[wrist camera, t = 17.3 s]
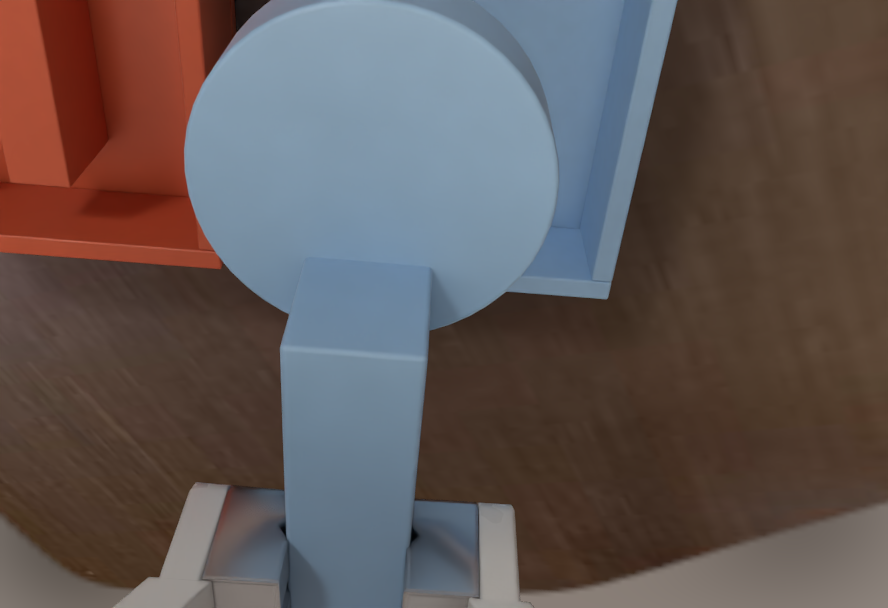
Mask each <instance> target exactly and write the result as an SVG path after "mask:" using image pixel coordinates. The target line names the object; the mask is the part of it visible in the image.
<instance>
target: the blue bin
mask: <svg viewBox="0 0 888 608" xmlns="http://www.w3.org/2000/svg"><path fill="white" fill-rule="evenodd" d="M472 1H474V2H475V3H477V4H479V5H480V6H482V7H483V8H484V9H485V10H486V11H488V12H489V13H490V14H491V15H492V16H494V17H495V18H496V19H497V20H498V21H500V22H501V23H502V25H503V26H504V27H505V28H506V29H507V30H508V31H509V32H510V33H511V34H512V36H513V37H514V38H515V39H516V40H517V41H518V43H519V44H520V46H521V47H522V49H523V50H524V52H525V53H526V55H527V56H528V57H529V59H530V61H531V63H532V65H533V67H534V69H535V71H536V73H537V75H538V77H539V79H540V82H541V85H542V88H543V90H544V93H545V96H546V99H547V104H548V108H549V113H550V118H551V123H552V128H553V133H554V138H555V143H556V149H557V154H558V159H559V189H558V198H557V205H556V209H555V213H554V217H553V220H552V224H551V227H550V229H549V231H548V234H547V236H546V238H545V241H544V243H543V245H542V247H541V248H540V250H539V252H538V253H537V255H536V257H535V258H534V260H533V262H532V263H531V264H530V266H529V267H528V268H527V269H526V271H525V272H524V273H523V274H522V276H521V277H520V278H519V279H518V280H517V281H516V282H515V283H514V284H513V285H512V286H511V287H510V288H509V289H508V290H507V291H506V292H519V293H532V294H545V295H557V296H570V297H583V298H596V299H607V298H608V296H609V292H610V288H611V281H612V279H613V275H614V271H615V266H616V262H617V258H618V253H619V249H620V245H621V241H622V236H623V232H624V228H625V223H626V219H627V215H628V211H629V206H630V202H631V198H632V193H633V189H634V185H635V181H636V176H637V172H638V168H639V164H640V159H641V155H642V151H643V146H644V142H645V138H646V134H647V129H648V125H649V121H650V116H651V112H652V108H653V104H654V99H655V95H656V91H657V86H658V82H659V78H660V74H661V69H662V65H663V61H664V56H665V52H666V48H667V44H668V39H669V35H670V31H671V27H672V22H673V18H674V14H675V9H676V5H677V1H678V0H472Z"/></svg>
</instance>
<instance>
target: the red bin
mask: <svg viewBox="0 0 888 608" xmlns="http://www.w3.org/2000/svg"><path fill="white" fill-rule="evenodd" d="M87 2H88V9H89V16H90V22H91V29H92V35H93V42H94V49H95V55H96V62H97V68H98V75H99V82H100V88H101V95H102V101H103V108H104V115H105V121H106V128H107V134H108V142H107V143H106V145H105V146H104V147H103V148H102V150H101V151H100V152H99V153H98V154H97V156H96V157H95V158H94V159H93V161H92V162H91V163H90V164H89V165H88V167H87V168H86V169H85V170H84V172H83V173H82V174H81V175H80V176H79V178H78V179H77V180H76V181H75V183H74V184H73V185H72V186H71V187H69V188H68V187H56V186H44V185H32V184H21V183H11V182H10V179H9V175H8V170H7V166H6V161H5V157H4V153H3V148H2V144H1V140H0V252H5V253H18V254H31V255H44V256H57V257H70V258H82V259H95V260H108V261H121V262H134V263H147V264H159V265H172V266H185V267H198V268H211V269H221V268H222V265H223V263H224V262H223V261H222V260H221V259H220V258H219V256H218V255H217V254H216V252H215V251H214V249H213V248H212V246H211V244H210V243H209V241H208V240H207V238H206V237H205V235H204V233H203V230H202V228H201V226H200V224H199V222H198V220H197V218H196V215H195V212H194V209H193V206H192V203H191V200H190V197H189V194H188V188H187V182H186V176H185V165H184V146H185V138H186V129H187V124H188V121H189V117H190V114H191V110H192V107H193V104H194V102H195V99H196V97H197V95H198V93H199V91H200V88H201V86H202V84H203V82H204V81H205V79H206V78H207V76H208V75H209V73H210V72H211V70H212V69H213V67H214V66H215V64H216V63H217V61H218V60H219V58H220V57H221V55H222V54H223V52H224V51H225V49H226V48H227V46H228V45H229V43H230V42H231V40H232V39H233V38H234V36H235V35H236V20H235V3H234V0H87Z"/></svg>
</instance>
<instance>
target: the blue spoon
mask: <svg viewBox="0 0 888 608" xmlns="http://www.w3.org/2000/svg"><path fill="white" fill-rule="evenodd" d="M184 165H185V176H186V182H187V188H188V194H189V197H190V200H191V203H192V206H193V209H194V212H195V215H196V218H197V220H198V222H199V224H200V226H201V228H202V230H203V233H204V235H205V237H206V238H207V240H208V241H209V243H210V244H211V246H212V248H213V249H214V251H215V252H216V254H217V255H218V256H219V258H220V259H221V260H222V261H223V262H224V264H225V265H226V266H227V267H228V269H229V270H230V271H231V272H232V273H233V274H234V275H235V276H236V277H237V278H238V279H239V280H240V281H241V282H242V283H243V284H245V285H246V286H247V287H248V288H249V289H250V290H252V291H253V292H254V293H256V294H257V295H258V296H260V297H261V298H262V299H264V300H265V301H267V302H268V303H270V304H272V305H273V306H275V307H277V308H278V309H280V310H282V311H283V312H285V313H288V314H289V317H288V321H287V324H286V328H285V331H284V335H283V339H282V342H281V346H280V365H281V395H282V425H283V454H284V484H285V514H286V539H287V540H288V553H289V572H290V573H289V578H288V588H289V591H290V599H291V608H401V601H402V592H403V577H404V567H405V556H406V549H407V548H408V547H409V546H410V539H411V528H412V518H413V508H414V497H415V487H416V477H417V466H418V456H419V445H420V435H421V425H422V414H423V404H424V394H425V383H426V373H427V363H428V347H429V331H430V330H434V329H437V328H440V327H444V326H447V325H450V324H452V323H455V322H457V321H459V320H462V319H464V318H466V317H469V316H471V315H472V314H474V313H476V312H478V311H479V310H481V309H483V308H485V307H486V306H488V305H489V304H490V303H492V302H493V301H494V300H496V299H497V298H499V297H500V296H501V295H503V294H504V293H505V292H506V291H507V290H508V289H509V288H510V287H511V286H512V285H513V284H514V283H515V282H516V281H517V280H518V279H519V278H520V277H521V276H522V274H523V273H524V272H525V271H526V269H527V268H528V267H529V266H530V264H531V263H532V262H533V260H534V258H535V257H536V255H537V253H538V252H539V250H540V248H541V247H542V245H543V243H544V241H545V238H546V236H547V234H548V231H549V229H550V227H551V224H552V220H553V217H554V213H555V209H556V205H557V198H558V189H559V159H558V154H557V149H556V143H555V138H554V133H553V128H552V123H551V118H550V113H549V108H548V104H547V99H546V96H545V93H544V90H543V88H542V85H541V82H540V79H539V77H538V75H537V73H536V71H535V69H534V67H533V65H532V63H531V61H530V59H529V57H528V56H527V55H526V53H525V52H524V50H523V49H522V47H521V46H520V44H519V43H518V41H517V40H516V39H515V38H514V37H513V36H512V34H511V33H510V32H509V31H508V30H507V29H506V28H505V27H504V26H503V25H502V23H501V22H500V21H498V20H497V19H496V18H495V17H494V16H492V15H491V14H490V13H489V12H488V11H486V10H485V9H484V8H483V7H482V6H480V5H479V4H477V3H475V2H474V1H472V0H270V1H269V2H268V3H267V4H266V5H264V6H263V7H262V8H261V9H259V10H258V11H257V12H256V13H255V14H253V15H252V16H251V17H250V18H249V20H248V21H247V22H246V23H245V24H244V25H243V26H242V27H241V28H240V30H239V31H238V32H237V33H236V35H235V36H234V38H233V39H232V40H231V42H230V43H229V45H228V46H227V48H226V49H225V51H224V52H223V54H222V55H221V57H220V58H219V60H218V61H217V63H216V64H215V66H214V67H213V69H212V70H211V72H210V73H209V75H208V76H207V78H206V79H205V81H204V82H203V84H202V86H201V88H200V91H199V93H198V95H197V97H196V99H195V102H194V104H193V107H192V110H191V114H190V117H189V121H188V124H187V129H186V138H185V146H184Z"/></svg>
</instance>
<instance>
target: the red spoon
mask: <svg viewBox="0 0 888 608" xmlns="http://www.w3.org/2000/svg"><path fill="white" fill-rule="evenodd" d="M0 140H1V144H2V148H3V153H4V157H5V161H6V166H7V170H8V175H9V179H10V182H11V183H21V184H32V185H44V186H56V187H68V188H69V187H71V186H72V185H73V184H74V183H75V181H76V180H77V179H78V178H79V176H80V175H81V174H82V173H83V172H84V170H85V169H86V168H87V167H88V165H89V164H90V163H91V162H92V161H93V159H94V158H95V157H96V156H97V154H98V153H99V152H100V151H101V150H102V148H103V147H104V146H105V145H106V143H107V142H108V134H107V128H106V121H105V115H104V108H103V101H102V95H101V88H100V82H99V75H98V68H97V62H96V55H95V49H94V42H93V35H92V29H91V22H90V16H89V9H88V2H87V0H0Z"/></svg>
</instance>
